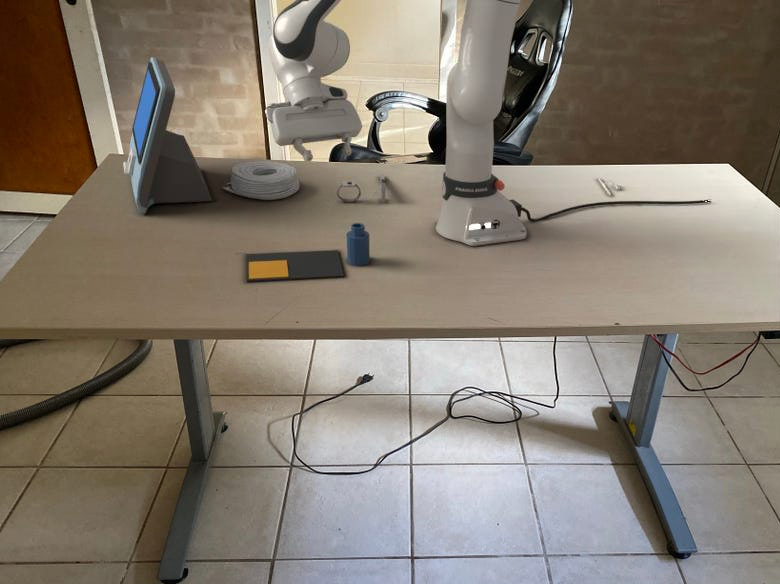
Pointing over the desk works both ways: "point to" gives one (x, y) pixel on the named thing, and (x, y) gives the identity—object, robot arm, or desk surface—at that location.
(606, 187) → the picture light
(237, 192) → the cable
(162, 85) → the touchscreen device
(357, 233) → the vase
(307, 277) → the desk mat
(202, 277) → the desk surface
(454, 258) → the desk surface
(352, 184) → the wristwatch
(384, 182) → the caliper
